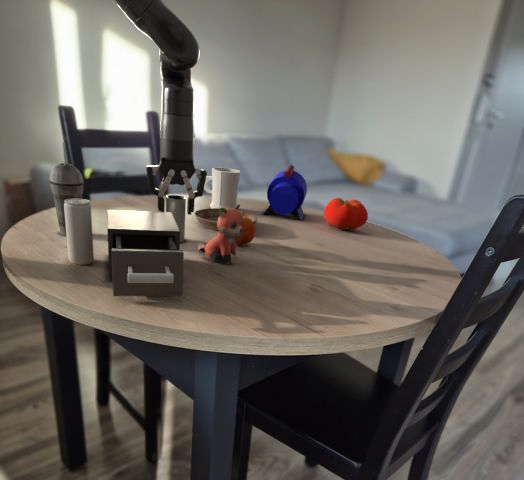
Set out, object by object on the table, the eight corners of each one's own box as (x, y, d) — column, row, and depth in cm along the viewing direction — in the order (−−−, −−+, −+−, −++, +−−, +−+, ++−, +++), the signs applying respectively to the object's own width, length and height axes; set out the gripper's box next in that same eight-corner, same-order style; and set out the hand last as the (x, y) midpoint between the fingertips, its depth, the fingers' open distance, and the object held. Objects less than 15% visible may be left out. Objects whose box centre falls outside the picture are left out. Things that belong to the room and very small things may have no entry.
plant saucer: (183, 226, 130) (184, 215, 128) (207, 214, 145) (208, 204, 144) (245, 238, 126) (246, 226, 125) (263, 224, 142) (264, 214, 140)
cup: (209, 212, 149) (211, 171, 143) (201, 205, 156) (203, 166, 150) (241, 212, 152) (244, 173, 147) (232, 206, 160) (235, 168, 154)
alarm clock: (304, 214, 161) (311, 167, 154) (299, 221, 150) (307, 171, 143) (268, 208, 163) (274, 161, 156) (261, 215, 152) (267, 165, 145)
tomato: (313, 227, 145) (318, 197, 141) (327, 221, 156) (332, 193, 152) (356, 237, 140) (363, 206, 136) (368, 230, 151) (374, 201, 147)
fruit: (243, 250, 116) (246, 217, 113) (220, 243, 119) (222, 210, 116) (259, 245, 122) (262, 213, 118) (237, 238, 125) (239, 207, 121)
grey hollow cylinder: (164, 237, 119) (164, 194, 114) (182, 237, 120) (183, 195, 116) (167, 242, 115) (168, 198, 110) (186, 242, 117) (187, 199, 112)
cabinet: (178, 281, 93) (180, 231, 89) (109, 281, 89) (107, 228, 85) (170, 257, 106) (171, 212, 101) (109, 256, 102) (107, 209, 97)
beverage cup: (86, 229, 118) (80, 141, 108) (88, 237, 112) (82, 145, 102) (54, 229, 115) (45, 138, 106) (54, 237, 109) (44, 142, 100)
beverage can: (66, 264, 95) (61, 202, 89) (71, 257, 99) (66, 197, 93) (92, 266, 95) (88, 204, 90) (95, 258, 100) (92, 199, 94)
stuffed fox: (204, 248, 114) (207, 196, 108) (246, 259, 110) (251, 206, 105) (187, 255, 108) (189, 201, 102) (231, 267, 104) (235, 211, 99)
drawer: (186, 309, 80) (188, 263, 76) (113, 310, 76) (111, 262, 73) (173, 269, 96) (174, 230, 92) (112, 269, 93) (111, 228, 89)
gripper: (206, 138, 112) (202, 211, 120) (143, 132, 108) (143, 208, 116) (212, 141, 106) (208, 218, 114) (145, 135, 102) (145, 216, 109)
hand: (175, 213), depth 115 cm, fingers open, 5 cm apart
